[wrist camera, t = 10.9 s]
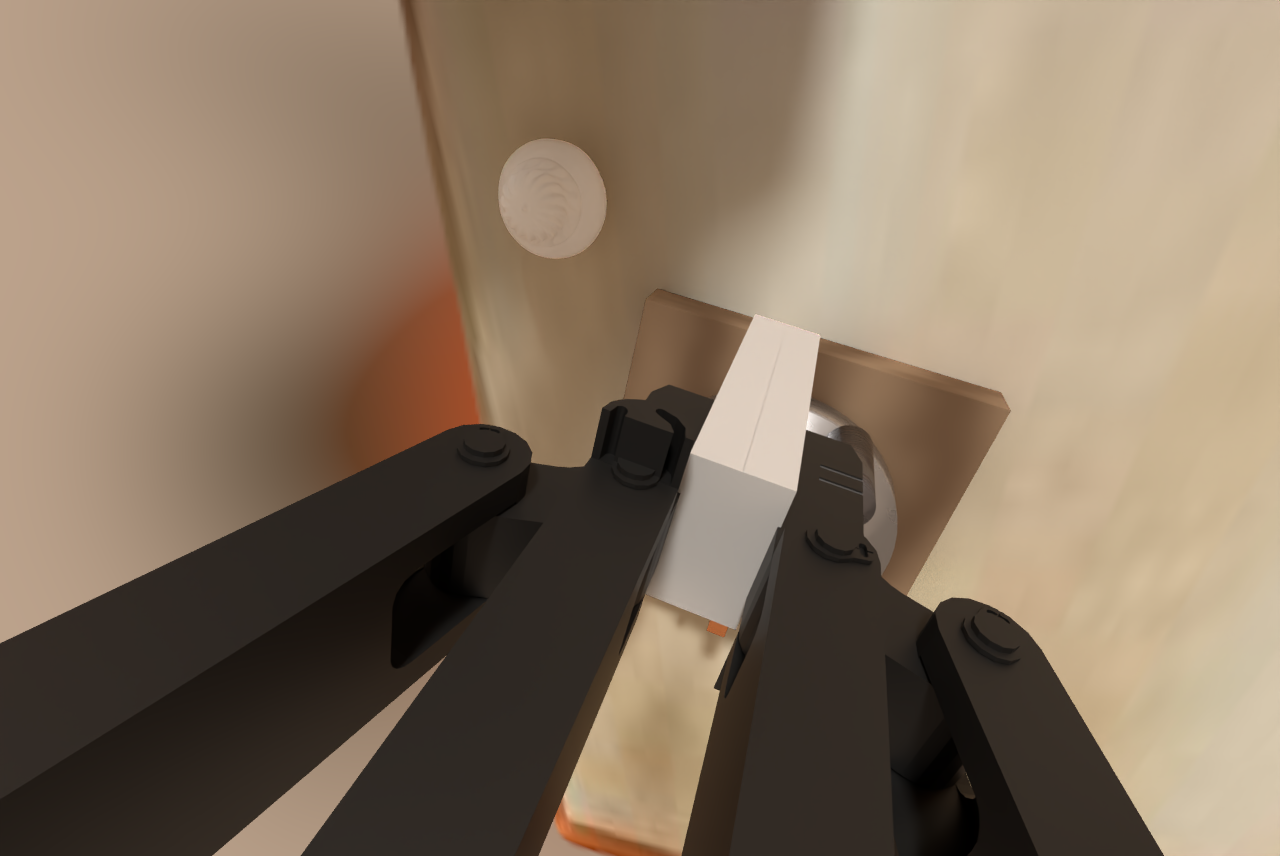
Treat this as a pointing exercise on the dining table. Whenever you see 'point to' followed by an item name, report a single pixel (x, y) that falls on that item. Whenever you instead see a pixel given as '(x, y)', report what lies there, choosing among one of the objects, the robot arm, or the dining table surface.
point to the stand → (844, 411)
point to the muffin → (552, 198)
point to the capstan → (875, 481)
